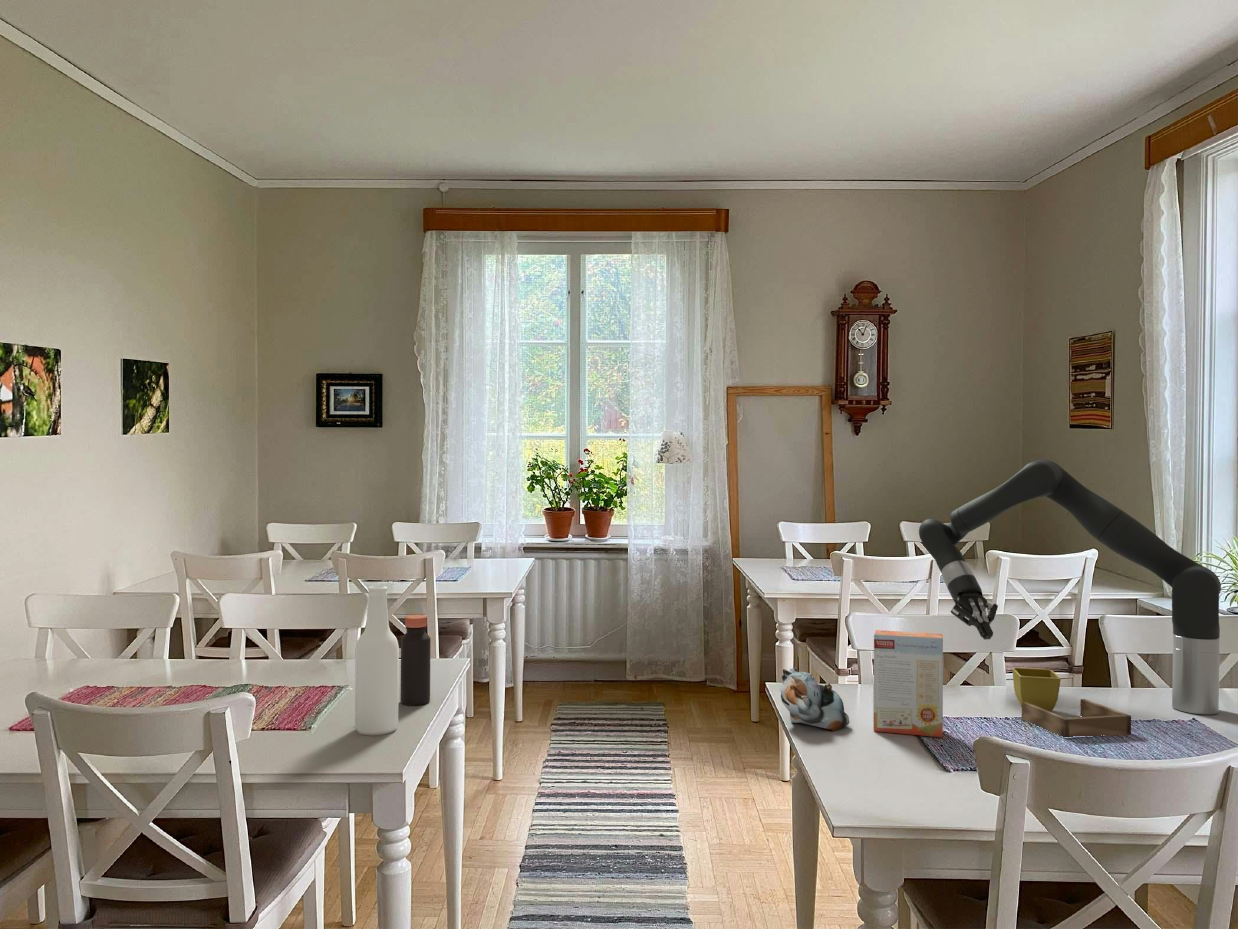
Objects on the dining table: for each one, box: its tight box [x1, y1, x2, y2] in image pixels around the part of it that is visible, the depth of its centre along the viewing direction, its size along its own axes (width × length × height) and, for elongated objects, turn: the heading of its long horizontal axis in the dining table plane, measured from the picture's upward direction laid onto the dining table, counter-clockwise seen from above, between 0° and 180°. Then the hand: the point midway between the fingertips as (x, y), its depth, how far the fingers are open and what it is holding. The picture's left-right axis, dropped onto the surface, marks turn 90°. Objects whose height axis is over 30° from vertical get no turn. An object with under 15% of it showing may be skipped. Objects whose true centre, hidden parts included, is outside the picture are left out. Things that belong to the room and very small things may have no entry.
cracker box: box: [872, 629, 944, 738], centre depth 196 cm, size 14×6×21 cm, turn 71°
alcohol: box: [354, 585, 400, 736], centre depth 193 cm, size 9×9×30 cm
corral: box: [1021, 698, 1132, 737], centre depth 200 cm, size 14×16×4 cm
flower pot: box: [1011, 667, 1061, 712], centre depth 213 cm, size 9×9×9 cm
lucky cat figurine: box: [780, 667, 851, 732], centre depth 201 cm, size 15×12×14 cm
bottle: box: [399, 614, 432, 706], centre depth 216 cm, size 7×7×20 cm
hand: (988, 637), depth 231 cm, fingers closed
